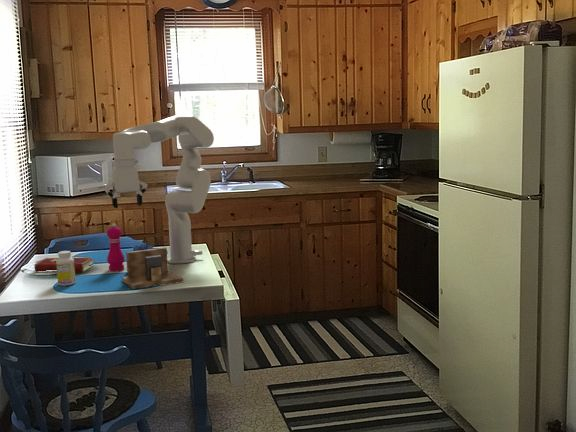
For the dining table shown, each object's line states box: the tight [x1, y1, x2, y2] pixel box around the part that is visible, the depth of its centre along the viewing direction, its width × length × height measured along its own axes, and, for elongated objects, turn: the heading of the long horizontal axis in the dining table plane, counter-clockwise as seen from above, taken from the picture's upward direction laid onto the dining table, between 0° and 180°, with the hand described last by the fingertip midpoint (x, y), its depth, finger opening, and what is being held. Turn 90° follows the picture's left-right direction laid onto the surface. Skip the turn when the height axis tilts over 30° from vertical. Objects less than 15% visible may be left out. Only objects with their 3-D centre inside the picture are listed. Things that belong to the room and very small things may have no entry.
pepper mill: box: [106, 222, 126, 272], centre depth 291 cm, size 7×7×20 cm
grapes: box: [130, 242, 154, 252], centre depth 289 cm, size 12×7×12 cm, turn 94°
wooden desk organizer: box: [121, 247, 184, 290], centre depth 271 cm, size 20×15×12 cm
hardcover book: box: [34, 257, 93, 273], centre depth 296 cm, size 12×21×4 cm, turn 86°
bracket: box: [145, 255, 163, 281], centre depth 269 cm, size 6×2×9 cm, turn 118°
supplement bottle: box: [56, 250, 76, 287], centre depth 270 cm, size 7×7×13 cm
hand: (127, 206), depth 275 cm, fingers open, 9 cm apart
